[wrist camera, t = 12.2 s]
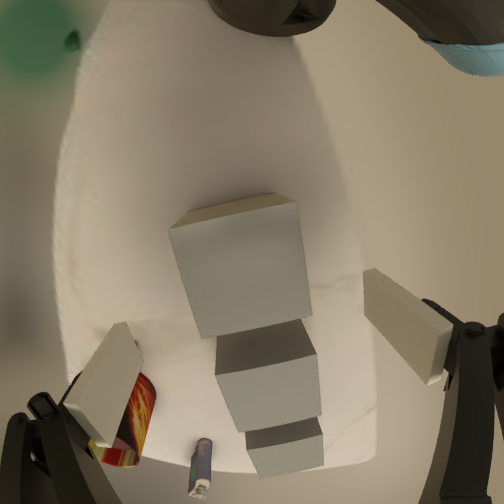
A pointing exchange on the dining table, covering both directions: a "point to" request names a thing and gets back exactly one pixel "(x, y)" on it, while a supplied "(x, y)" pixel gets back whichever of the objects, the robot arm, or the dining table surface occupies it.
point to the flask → (200, 469)
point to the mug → (130, 427)
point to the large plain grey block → (286, 448)
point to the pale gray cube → (268, 375)
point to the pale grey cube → (242, 264)
